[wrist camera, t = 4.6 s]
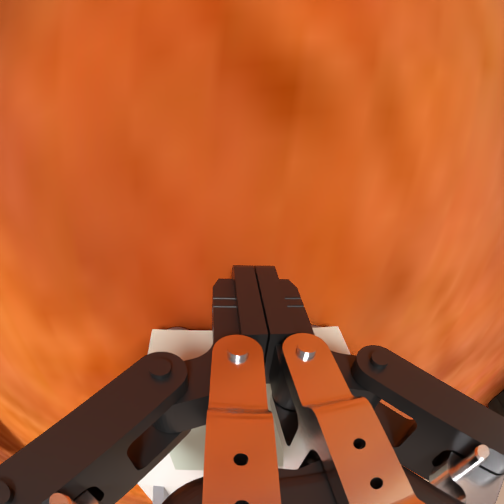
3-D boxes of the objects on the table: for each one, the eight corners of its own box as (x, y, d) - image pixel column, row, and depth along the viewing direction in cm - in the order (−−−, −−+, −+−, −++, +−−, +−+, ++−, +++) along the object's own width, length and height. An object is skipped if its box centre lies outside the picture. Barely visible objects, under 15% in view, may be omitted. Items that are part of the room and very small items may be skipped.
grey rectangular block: (331, 312, 14) (356, 367, 11) (294, 420, 19) (304, 463, 16) (155, 313, 13) (144, 375, 10) (176, 424, 18) (175, 469, 15)
